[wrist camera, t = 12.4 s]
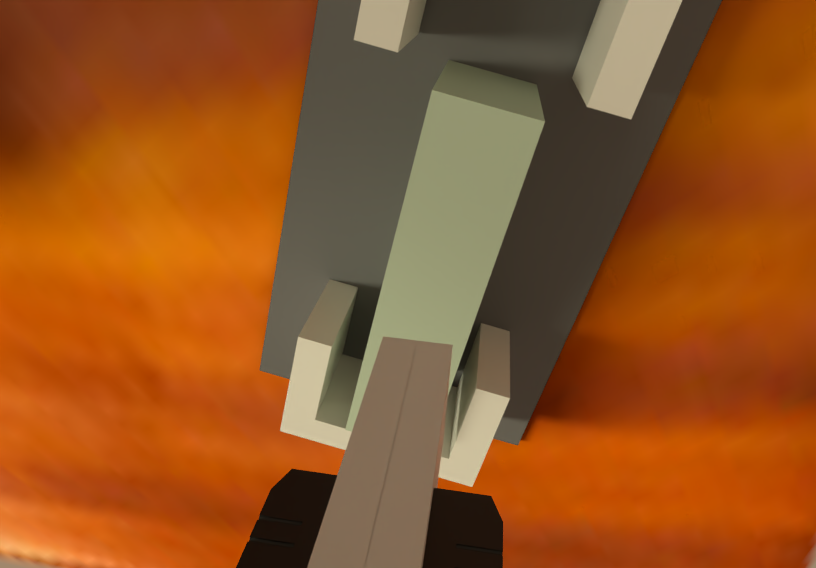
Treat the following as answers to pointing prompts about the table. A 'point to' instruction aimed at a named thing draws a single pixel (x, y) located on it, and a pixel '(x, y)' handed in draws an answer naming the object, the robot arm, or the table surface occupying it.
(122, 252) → the table surface
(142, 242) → the table surface
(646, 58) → the cap
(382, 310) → the slat
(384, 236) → the mat
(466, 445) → the cap
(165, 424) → the table surface
